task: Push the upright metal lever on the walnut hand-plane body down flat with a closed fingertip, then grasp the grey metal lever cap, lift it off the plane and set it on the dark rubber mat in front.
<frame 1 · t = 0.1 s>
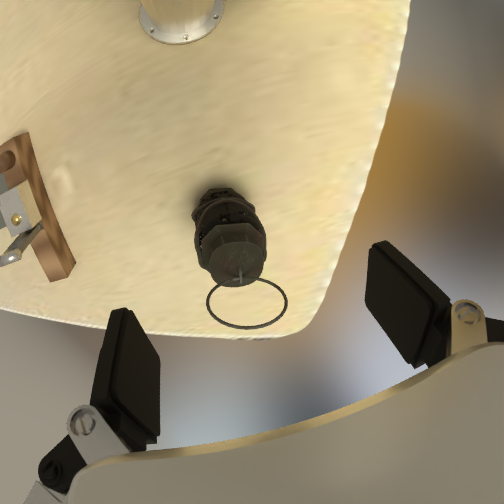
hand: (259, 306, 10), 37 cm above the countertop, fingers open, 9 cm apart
lever: (20, 244, 32), point 10 cm above the countertop, hinge at 2.0°
lantern: (220, 206, 47), on the countertop
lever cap: (23, 204, 34), point 5 cm above the countertop, touching plane body
mat: (0, 201, 36), on the countertop
plane body: (40, 204, 39), on the countertop
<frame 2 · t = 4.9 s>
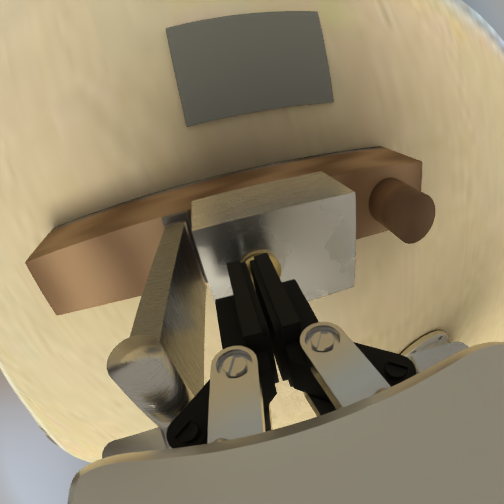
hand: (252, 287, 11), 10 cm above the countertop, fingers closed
lever: (177, 315, 11), point 10 cm above the countertop, hinge at 5.4°, touching gripper
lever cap: (266, 228, 16), point 5 cm above the countertop, touching plane body
mat: (253, 61, 15), on the countertop
plane body: (221, 206, 20), on the countertop
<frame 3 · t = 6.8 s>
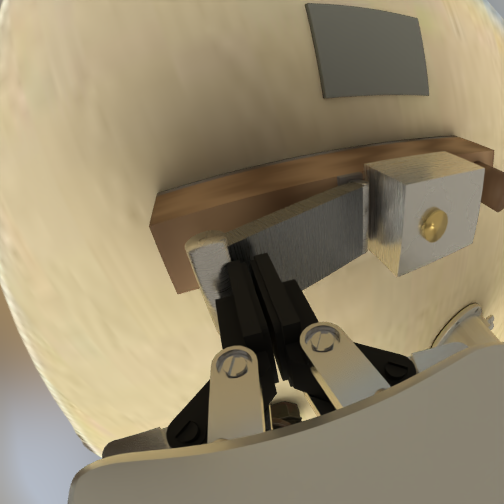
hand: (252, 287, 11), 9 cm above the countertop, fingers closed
lever: (297, 249, 13), point 7 cm above the countertop, hinge at 73.6°, touching gripper
lantern: (273, 413, 36), on the countertop
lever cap: (408, 195, 16), point 5 cm above the countertop, touching plane body
mat: (375, 50, 15), on the countertop
plane body: (344, 177, 20), on the countertop
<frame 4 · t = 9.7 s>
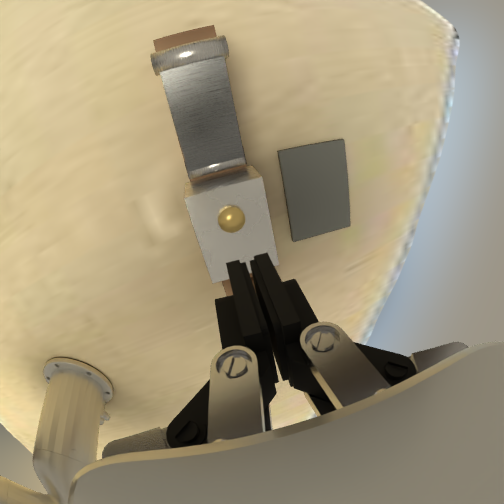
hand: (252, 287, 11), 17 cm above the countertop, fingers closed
lever: (202, 109, 17), point 7 cm above the countertop, hinge at 78.7°
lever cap: (229, 214, 23), point 5 cm above the countertop, touching plane body
mat: (317, 190, 29), on the countertop
plane body: (218, 175, 26), on the countertop
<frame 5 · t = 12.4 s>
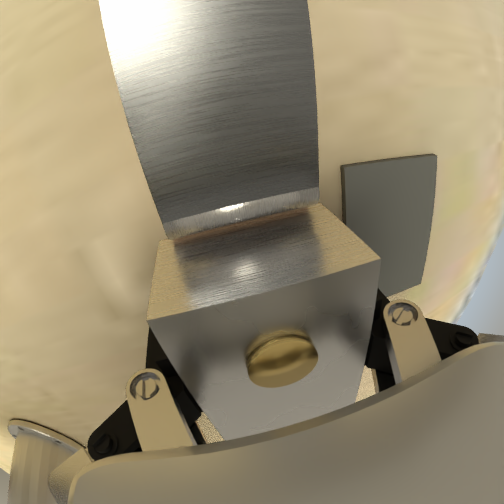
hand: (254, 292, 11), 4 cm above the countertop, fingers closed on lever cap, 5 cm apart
lever: (210, 37, 5), point 7 cm above the countertop, hinge at 78.7°
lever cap: (258, 304, 11), point 5 cm above the countertop, touching gripper, plane body
mat: (390, 234, 17), on the countertop
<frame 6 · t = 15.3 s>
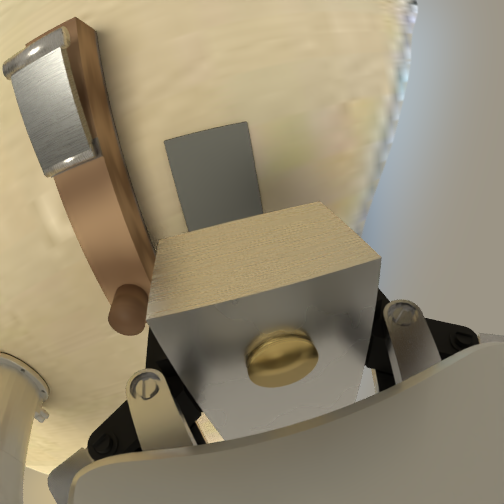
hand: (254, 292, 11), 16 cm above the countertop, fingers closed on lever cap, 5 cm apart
lever: (49, 104, 12), point 7 cm above the countertop, hinge at 78.7°
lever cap: (258, 304, 11), point 16 cm above the countertop, touching gripper
mat: (217, 184, 24), on the countertop
plane body: (103, 172, 22), on the countertop
when the fingers open (2 cm above the countertop, at t = 18.1 s): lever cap drops 2 cm, resting on mat.
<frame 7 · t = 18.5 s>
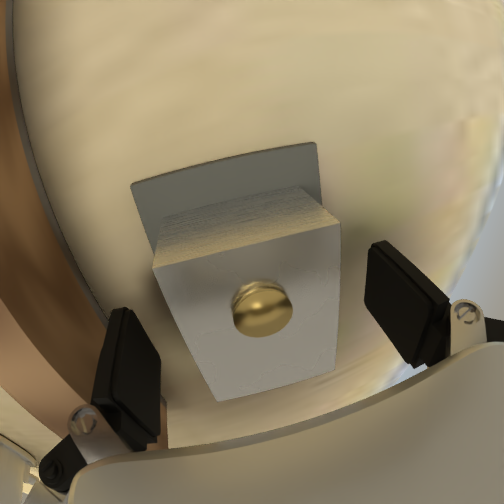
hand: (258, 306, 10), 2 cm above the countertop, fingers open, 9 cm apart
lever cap: (246, 275, 12), resting on mat
mat: (246, 270, 13), on the countertop
plane body: (27, 246, 10), on the countertop
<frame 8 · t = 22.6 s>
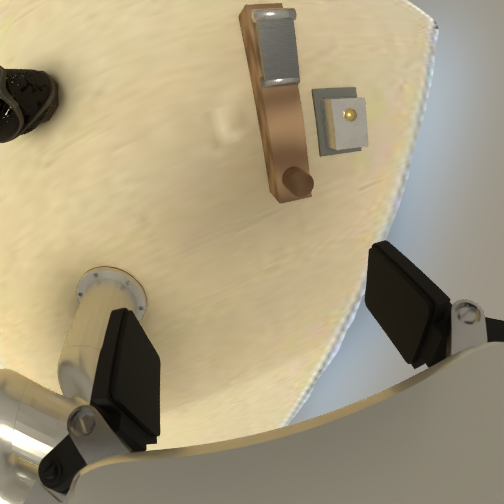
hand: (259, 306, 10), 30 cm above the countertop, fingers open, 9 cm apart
lever: (277, 46, 25), point 7 cm above the countertop, hinge at 78.7°
lantern: (39, 101, 26), on the countertop
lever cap: (338, 120, 36), resting on mat
mat: (337, 120, 37), on the countertop
plane body: (271, 100, 34), on the countertop
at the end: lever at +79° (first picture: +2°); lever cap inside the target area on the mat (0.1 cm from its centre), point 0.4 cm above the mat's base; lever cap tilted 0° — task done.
